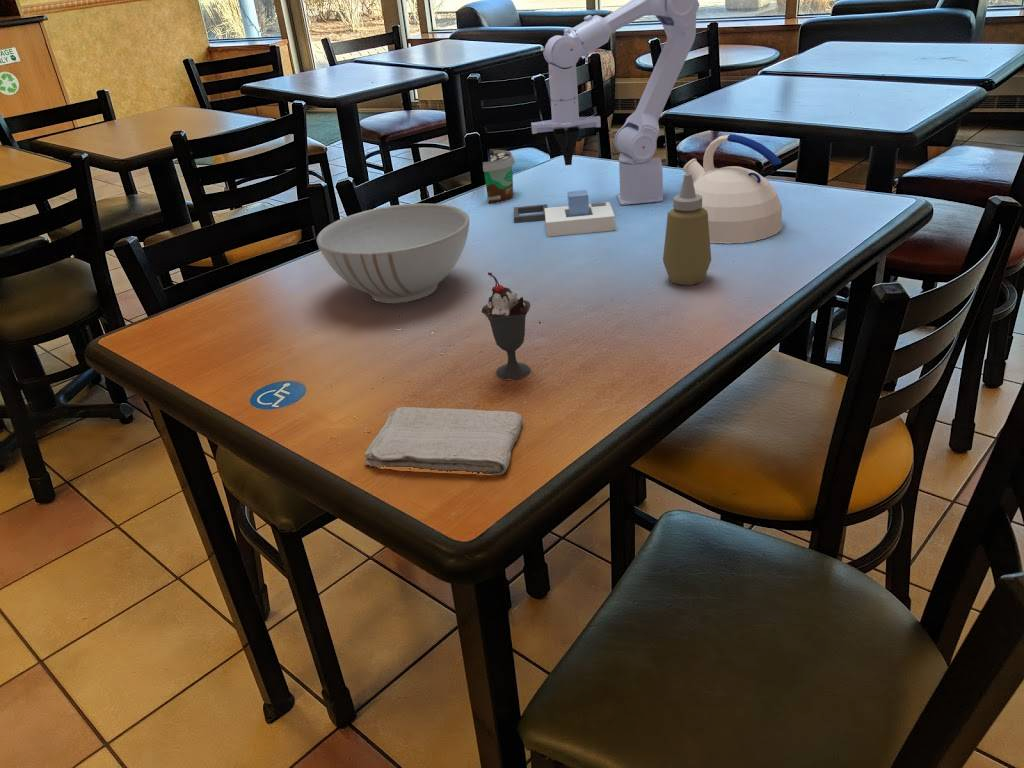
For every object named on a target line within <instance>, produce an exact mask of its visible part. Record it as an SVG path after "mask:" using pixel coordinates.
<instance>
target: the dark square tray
mask: <svg viewBox="0 0 1024 768" xmlns="http://www.w3.org/2000/svg"><path fill="white" fill-rule="evenodd" d="M544 208H549V207H548V203H546V204H536V205H535V204H534V205H524V206H515V207H514V206H513V223H514V224H516V223H517V224H519V223H526V222H530V223H531V222H538V221H539V222H540V221H545V210H544ZM538 212H542V213H538ZM527 213H528V214H527ZM529 213H534V214H529ZM535 213H536V214H535ZM519 214H524V215H519Z"/></svg>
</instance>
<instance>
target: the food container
mask: <svg viewBox="0 0 1024 768" xmlns="http://www.w3.org/2000/svg"><path fill="white" fill-rule="evenodd" d="M514 164H515V158H514V156H513V154H512V152H511V151H508V150H501V149H495V150H494V149H493V155H492V156H491V157H489V158H488V160H487V161H483V162H482V171H483V172H482V173H484V182H485V189H486V194H487V195H486V196H487V202H488V204H498V203H497V202H499V203H503V202H507V201H509V200H511V199H513V198H514V179H513V178H514V177H513V176H514V175H513V172H514V171H513V165H514ZM506 200H507V201H506ZM502 201H503V202H502Z"/></svg>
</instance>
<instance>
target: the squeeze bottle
mask: <svg viewBox="0 0 1024 768" xmlns="http://www.w3.org/2000/svg"><path fill="white" fill-rule="evenodd" d="M682 179H683V180H682V184H681V187H680V193H679V194H677V195H675V196H674V197H673V198H672V199H673V200H672V202H673V205H672V206H673V207H672V209H670V210H669V211H668V212H667V214H666V215H667V216H666V227H665V236H664V237H665V238H664V245H663V247H664V248H663V256H662V261H663V265H664V268H665V270H666V274H667V275H668V280H669V281H670V282H671V283H673V284H676V285H680V286H681V285H683V286H689V285H690V286H692V285H696V284H699V283H702V282H703V281H704V280H705V278H706V275H707V273H708V271H709V268H710V265H711V262H712V253H711V243H710V236H709V224H708V213H707V211H706V210H705V209H704V208H702V196H701V195H699V194H695V189H694V183H693V179H692V175H691V174H686V173H685V174H684V176H683V178H682Z"/></svg>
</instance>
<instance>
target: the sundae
mask: <svg viewBox="0 0 1024 768" xmlns="http://www.w3.org/2000/svg"><path fill="white" fill-rule="evenodd" d="M487 275H488V276H490V277H491V278H492V279H493V280H494V281H495V286H493V287H492V288H491V292H492V294H491V295H490V296H489V297H488V300H487V304H486V305H484V306H483V307H482V308H481V313H482V314H483V315H484V316H485V317H487V319H488V321H489V323H490V327H491V331H492V335H493V339H494V341H495V343H496V345H497V347H499V348H500V349H501V350H502V351H505V352H506V353H507V354H506V355H507V363H505V364H502V365H501V366H499V367H498V368H497V370H496V371H495V374H497V375H496V376H497V377H498V378H499V377H500V378H499V379H501V378H503V379H502V380H504V379H517V380H520V379H519V378H521V377H523V378H525V377H527V376H529V374H530V373H531V372H532V371H531V367H530V366H529V365H528V364H526V363H524V362H518V361H517V357H516V351H517V350H518V349H520V347H522V345H523V344H524V342H525V336H526V318H527V314H528V312H529V311H530V308H531V303H530V301H528V300H524V297H523V296H521V297H518V294H517V293H516V292H515V291H514V290H513V289H511V288H509V287H504V285H501V284H499V281H498V279H497V277H496V276H495V275H493V272H487ZM526 375H527V376H526ZM524 376H525V377H524ZM521 379H522V378H521Z"/></svg>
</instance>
